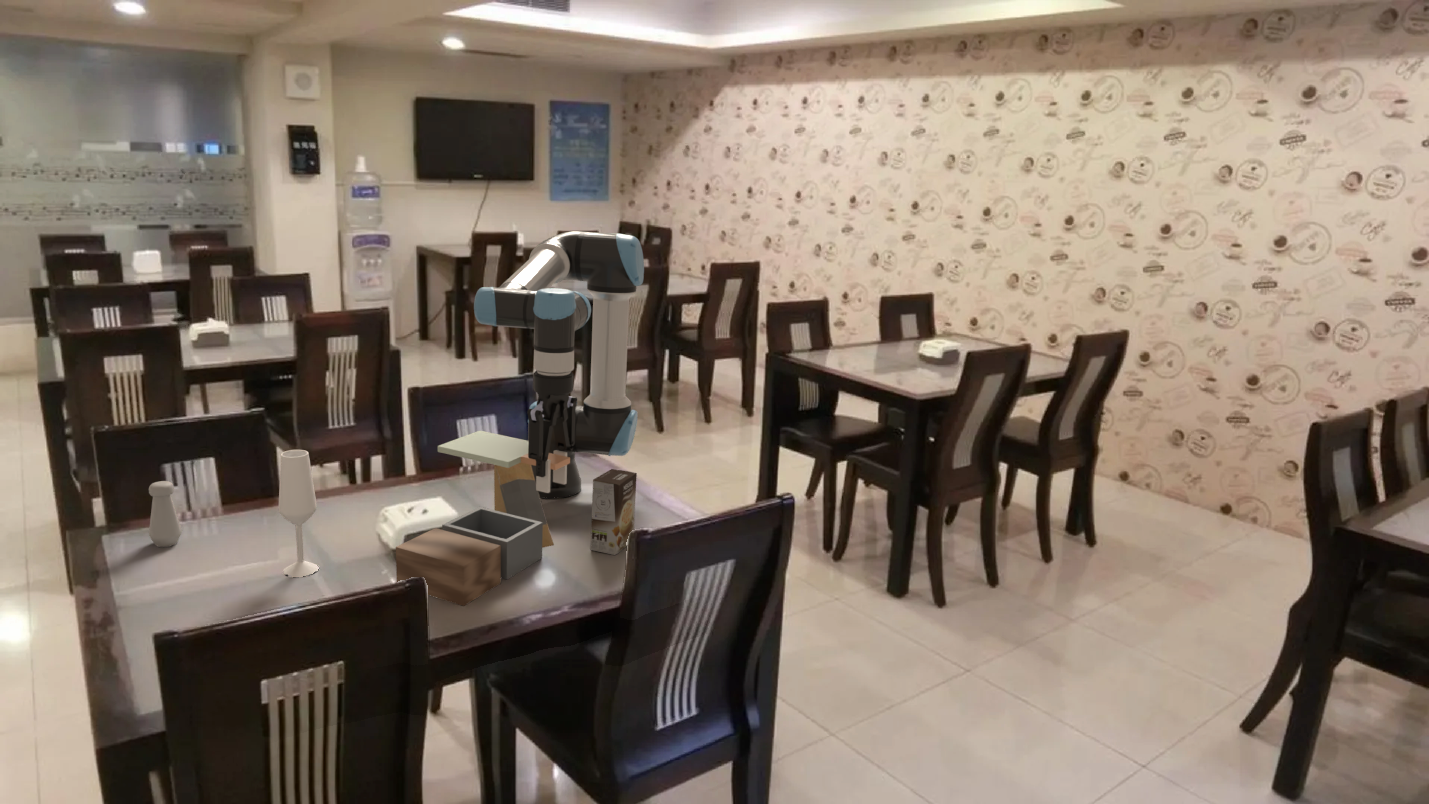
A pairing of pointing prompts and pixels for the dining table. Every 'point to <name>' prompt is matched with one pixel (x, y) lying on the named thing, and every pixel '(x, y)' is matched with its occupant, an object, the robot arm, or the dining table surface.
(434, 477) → the dining table surface
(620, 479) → the coffee box
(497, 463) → the lid
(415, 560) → the stand
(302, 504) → the champagne flute
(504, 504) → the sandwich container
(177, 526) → the salt shaker
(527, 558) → the tub
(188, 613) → the dining table surface
